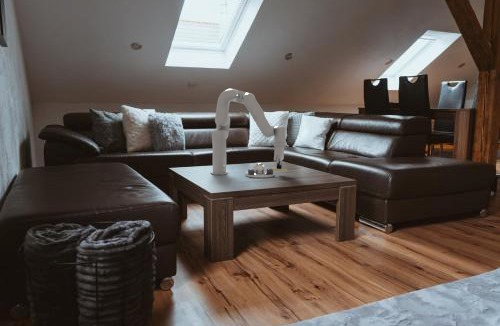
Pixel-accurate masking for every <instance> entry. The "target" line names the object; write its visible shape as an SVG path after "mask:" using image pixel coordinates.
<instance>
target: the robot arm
mask: <svg viewBox="0 0 500 326" xmlns="http://www.w3.org/2000/svg"><path fill="white" fill-rule="evenodd" d="M231 102H234V103H238V104H241V105H244V106H245V108H246V110H247V111H248V112H249V114H250V116H251V117H252V119H253V121H254V122H255V124H256V125H257V128H258V129H259V130H260V132H261V134H262V135H263V136H264V137H265V138H271V137H274V138H273V139H274V140H273V147H274V152H273V153H274V155H273V156H274V157H273V161H274V162H276V169H283V168H282V167H283V166H282V165H283V164H282V163H283V160H284V158H285V157H284V156H285V147H286V127H285V126H283V125H282V126H281V125H279V126H274V125H271V124H270V123H269V120H268V119H267V118H266V115H265V112H264V110H263V108H262V107H261V105H260V104H259V102H258V101H257V99H256V97H255V94H253V93H251V92H246V91H243V90H238V89H235V88H228V89H225V90H223V91H222V92H220V94H219V96H218V98H217V102H216V103H217V104H216V110H215V118H214V122H215V125H216V126H215V129H214V130H213V132H212V134H211V142H212V170H211V171H210V174H211V175H214V176H215V175H216V176H223V175H228V174H229V171H228V170H227V139H228V137H229V133H230V127H231V116H230V115H229V111H230V103H231Z"/></svg>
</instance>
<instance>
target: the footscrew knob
mask: <svg viewBox="0 0 500 326" xmlns="http://www.w3.org/2000/svg"><path fill="white" fill-rule="evenodd" d="M266 171H267V174H273V173H274V172H287V171H288V169H287V168H282V169H277V167H276V168H273V167H270V168H267V169H266Z"/></svg>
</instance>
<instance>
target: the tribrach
mask: <svg viewBox="0 0 500 326" xmlns="http://www.w3.org/2000/svg"><path fill="white" fill-rule="evenodd" d="M244 176H245V177H247V178H253V179H267V178H273V177H274V176H275V174H274V172H273V174H267V170H265V164H264V163H263V162H256V163H254V166H253V168H251V169H248V170H247V171H245V172H244Z"/></svg>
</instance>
